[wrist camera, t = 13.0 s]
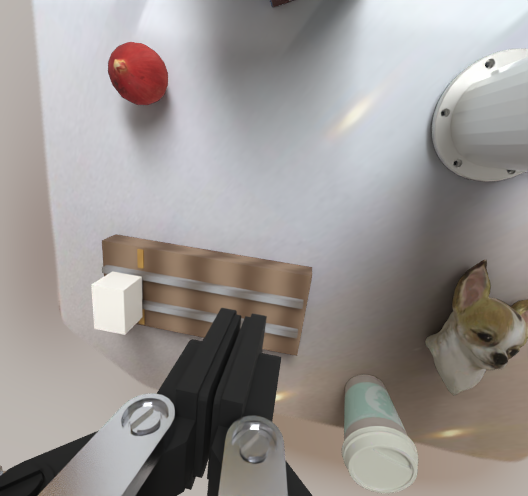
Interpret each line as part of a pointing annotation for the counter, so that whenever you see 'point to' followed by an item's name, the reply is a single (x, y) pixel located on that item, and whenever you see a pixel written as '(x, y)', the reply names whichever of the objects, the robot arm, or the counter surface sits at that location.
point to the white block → (117, 302)
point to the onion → (138, 73)
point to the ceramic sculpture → (477, 332)
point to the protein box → (279, 2)
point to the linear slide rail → (212, 288)
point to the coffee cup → (376, 438)
